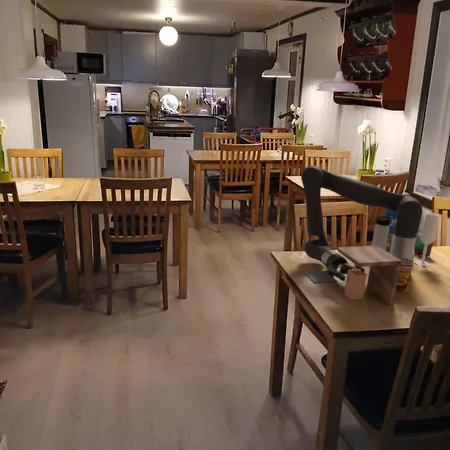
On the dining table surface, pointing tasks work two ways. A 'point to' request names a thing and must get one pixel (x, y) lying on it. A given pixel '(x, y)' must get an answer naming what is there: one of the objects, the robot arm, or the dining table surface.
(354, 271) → the terracotta block
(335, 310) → the dining table surface
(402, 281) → the canned food
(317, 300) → the dining table surface
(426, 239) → the champagne flute
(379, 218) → the travel mug
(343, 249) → the shelf nook
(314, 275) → the slate mat
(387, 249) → the blue food package
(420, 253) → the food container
